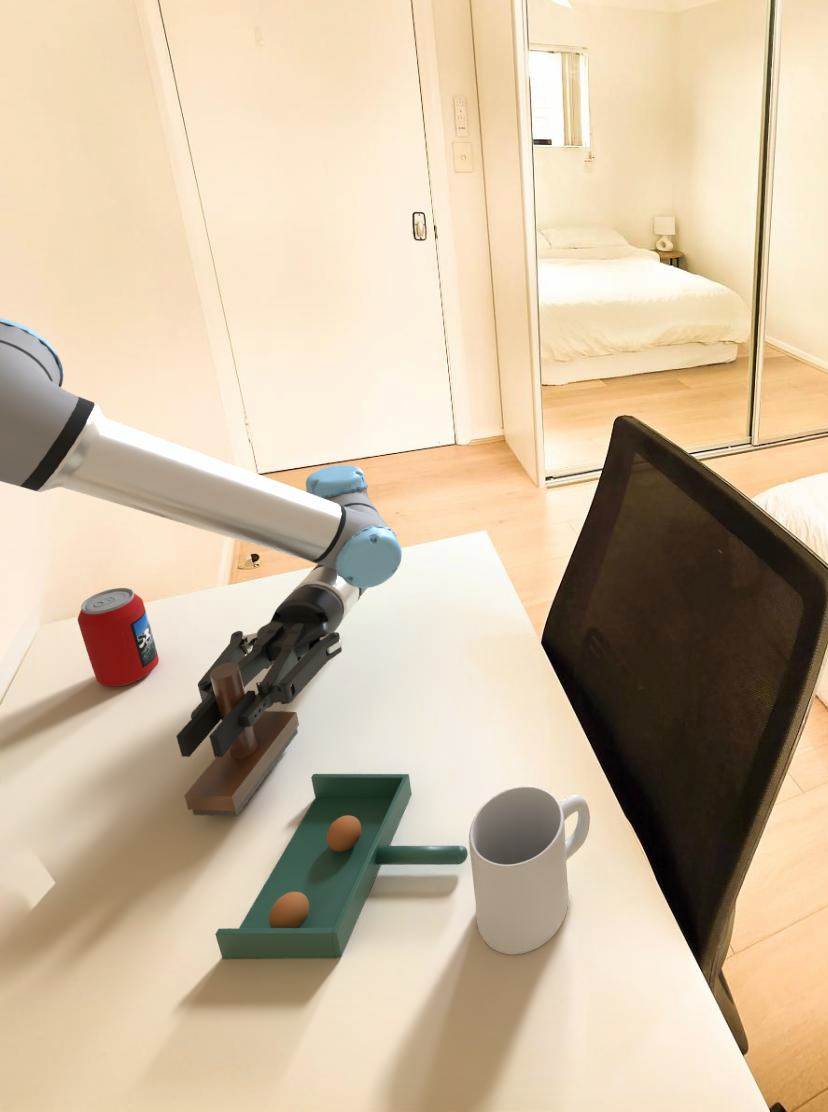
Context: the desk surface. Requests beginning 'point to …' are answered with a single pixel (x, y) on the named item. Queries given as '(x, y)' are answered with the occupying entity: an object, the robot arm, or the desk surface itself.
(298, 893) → the brown egg
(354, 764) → the desk surface
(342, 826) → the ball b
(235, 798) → the brush
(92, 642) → the beverage can
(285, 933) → the dustpan
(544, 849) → the mug
